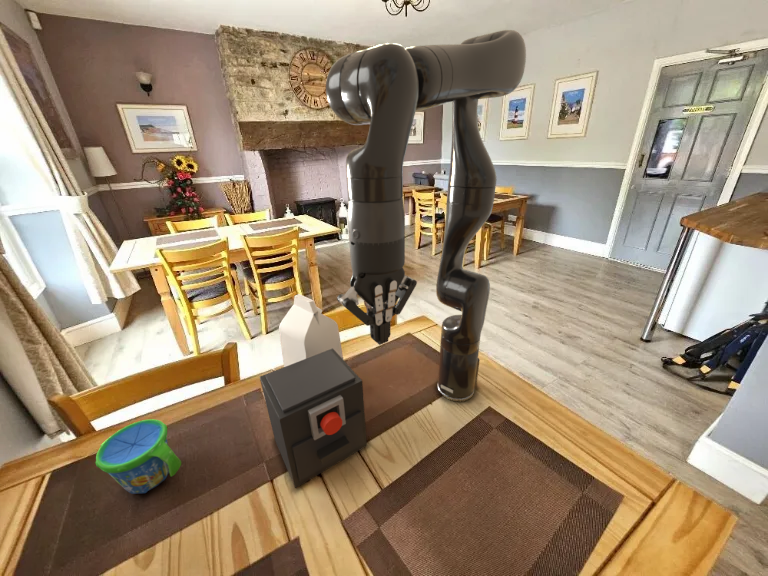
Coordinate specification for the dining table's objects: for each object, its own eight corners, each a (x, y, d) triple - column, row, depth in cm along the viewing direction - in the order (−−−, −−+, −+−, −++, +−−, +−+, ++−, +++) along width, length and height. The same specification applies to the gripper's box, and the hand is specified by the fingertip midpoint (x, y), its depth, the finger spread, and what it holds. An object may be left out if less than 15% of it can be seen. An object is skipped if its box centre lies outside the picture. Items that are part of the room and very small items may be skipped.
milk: (286, 384, 85) (269, 299, 74) (319, 363, 93) (308, 284, 82) (313, 405, 78) (298, 315, 67) (346, 380, 86) (338, 296, 75)
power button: (339, 422, 58) (337, 408, 56) (343, 428, 56) (341, 414, 55) (321, 432, 56) (319, 417, 54) (325, 438, 55) (323, 423, 53)
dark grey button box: (339, 408, 77) (332, 345, 69) (373, 454, 65) (369, 385, 57) (274, 440, 69) (258, 374, 61) (300, 500, 57) (283, 427, 49)
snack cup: (202, 463, 64) (188, 428, 60) (154, 516, 55) (134, 479, 51) (147, 444, 69) (130, 410, 64) (94, 491, 59) (70, 455, 55)
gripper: (399, 221, 48) (399, 318, 55) (319, 235, 41) (332, 344, 48) (432, 230, 42) (428, 337, 49) (346, 249, 35) (355, 370, 43)
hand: (380, 340), depth 49 cm, fingers closed
